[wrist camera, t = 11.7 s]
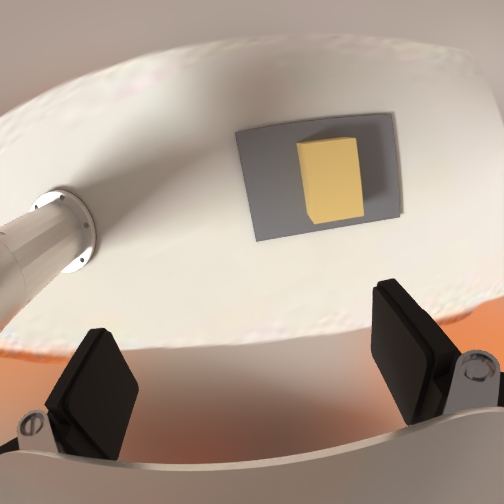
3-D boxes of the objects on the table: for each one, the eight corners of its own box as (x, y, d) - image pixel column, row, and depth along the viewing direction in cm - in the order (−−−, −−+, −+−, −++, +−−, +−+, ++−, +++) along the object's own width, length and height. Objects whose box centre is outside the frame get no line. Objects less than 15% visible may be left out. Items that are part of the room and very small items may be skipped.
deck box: (296, 143, 35) (302, 144, 31) (343, 137, 35) (355, 137, 30) (307, 213, 38) (314, 224, 34) (351, 206, 38) (364, 215, 34)
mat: (256, 240, 40) (256, 241, 40) (235, 132, 35) (235, 132, 34) (398, 215, 39) (400, 217, 38) (389, 114, 34) (391, 114, 33)
